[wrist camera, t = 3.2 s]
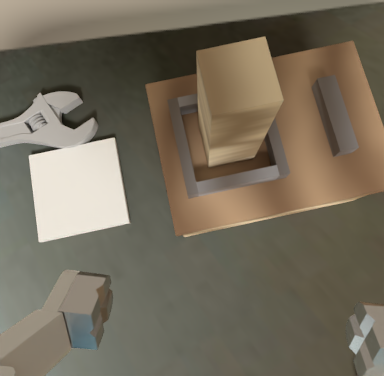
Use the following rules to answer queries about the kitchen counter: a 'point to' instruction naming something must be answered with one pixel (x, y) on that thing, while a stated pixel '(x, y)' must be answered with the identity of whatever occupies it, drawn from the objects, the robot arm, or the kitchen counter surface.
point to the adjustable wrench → (48, 123)
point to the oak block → (236, 99)
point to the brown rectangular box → (275, 146)
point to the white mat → (78, 190)
